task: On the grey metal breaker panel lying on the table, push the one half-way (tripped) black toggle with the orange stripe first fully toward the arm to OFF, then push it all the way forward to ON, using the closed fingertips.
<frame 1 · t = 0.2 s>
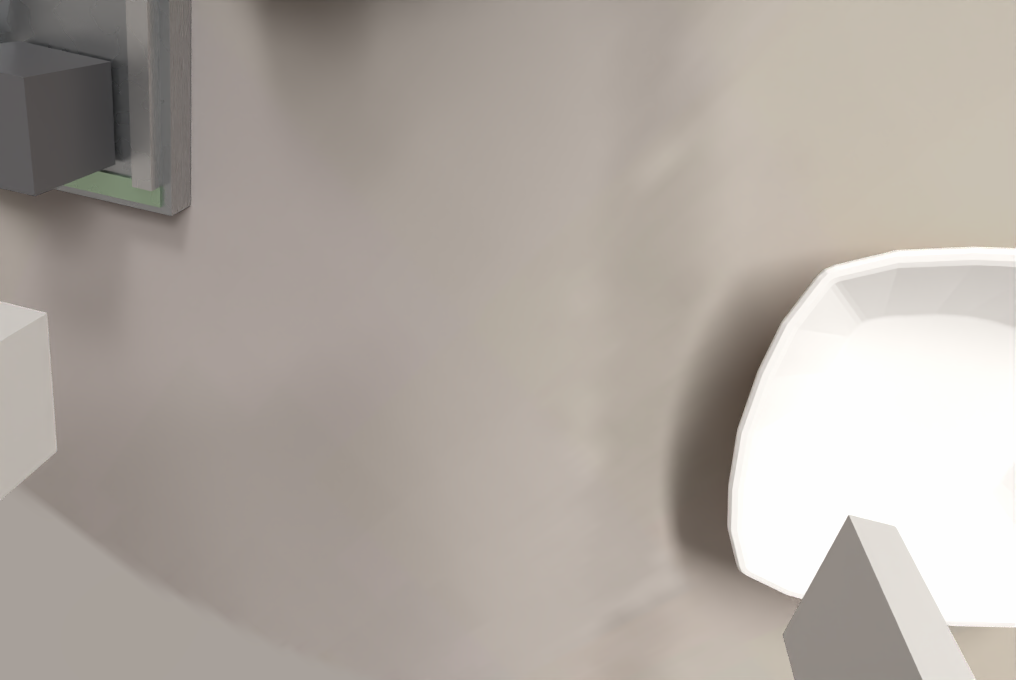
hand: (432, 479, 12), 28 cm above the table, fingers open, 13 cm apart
bowl: (921, 404, 41), on the table
breaker 3: (26, 115, 34), point 5 cm above the table, slide at 3.8 cm
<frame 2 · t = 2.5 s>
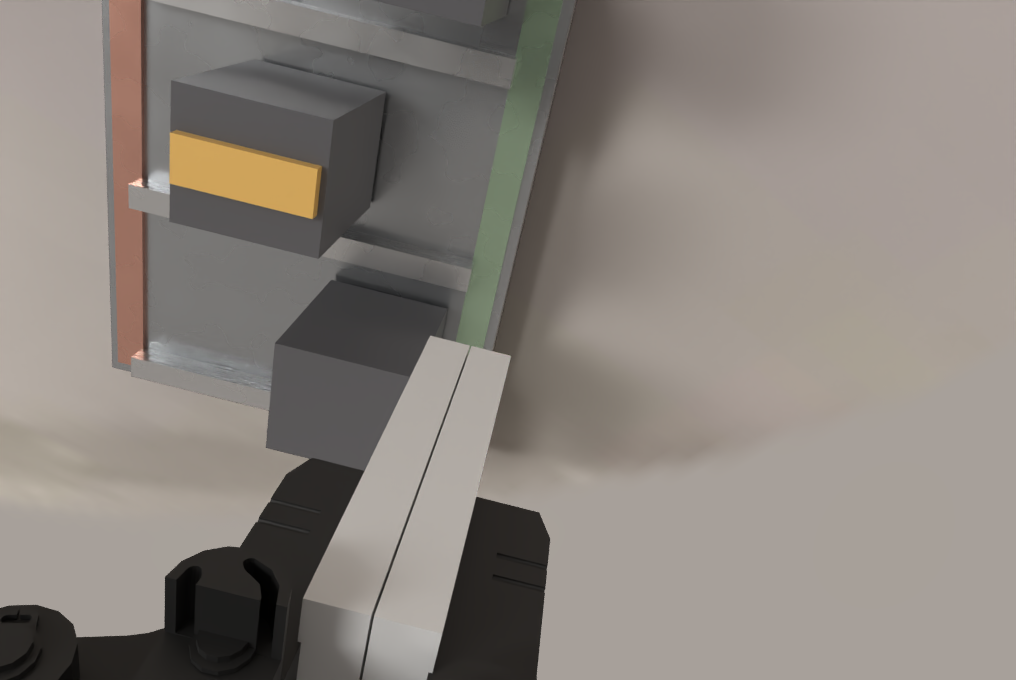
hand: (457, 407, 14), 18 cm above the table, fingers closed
panel: (333, 124, 31), on the table
breaker 2: (282, 153, 26), point 6 cm above the table, slide at 0.0 cm
breaker 1: (361, 374, 30), point 5 cm above the table, slide at 3.8 cm
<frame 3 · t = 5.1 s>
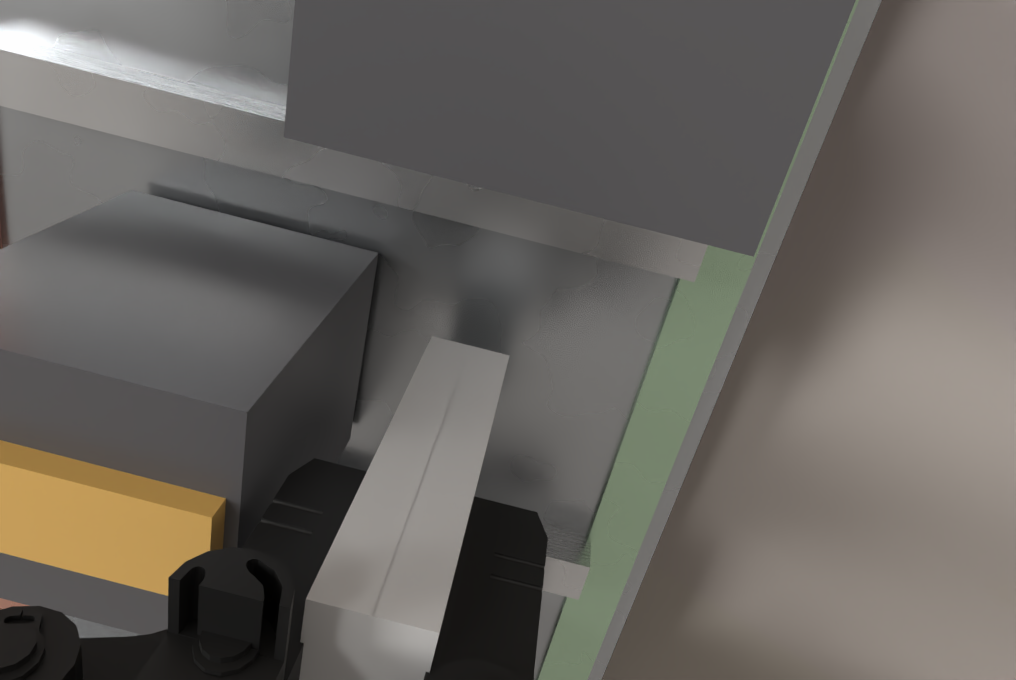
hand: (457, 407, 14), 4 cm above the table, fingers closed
panel: (345, 296, 18), on the table
breaker 2: (168, 399, 13), point 5 cm above the table, slide at -1.4 cm, touching gripper
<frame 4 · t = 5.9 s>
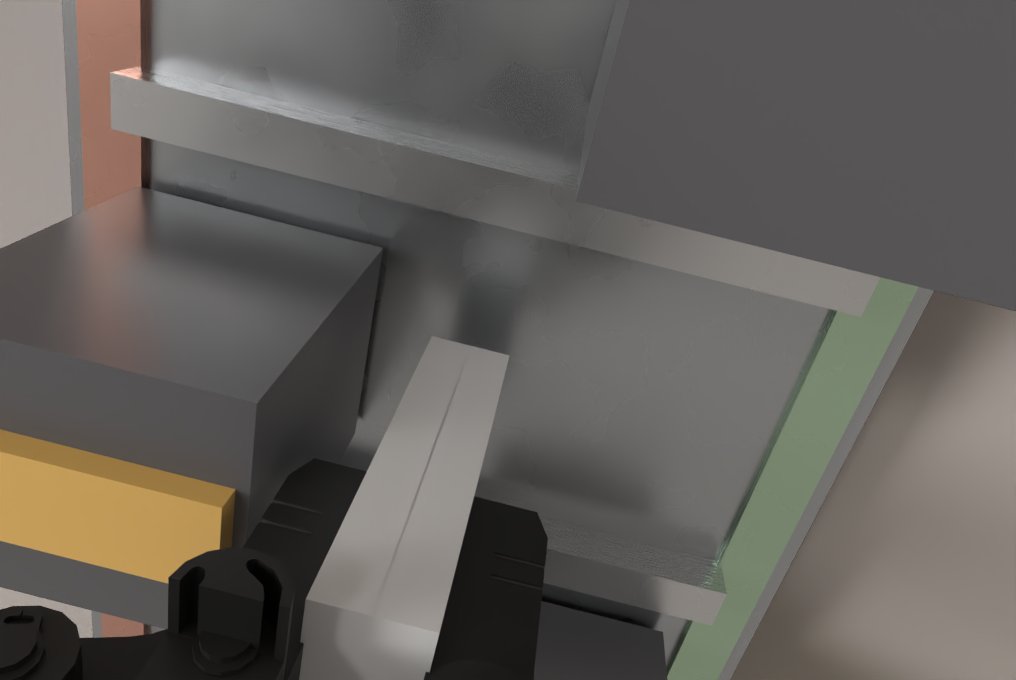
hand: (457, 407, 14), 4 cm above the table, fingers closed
panel: (473, 323, 18), on the table
breaker 2: (175, 393, 13), point 6 cm above the table, slide at -4.4 cm, touching gripper
breaker 3: (821, 15, 10), point 5 cm above the table, slide at 3.8 cm
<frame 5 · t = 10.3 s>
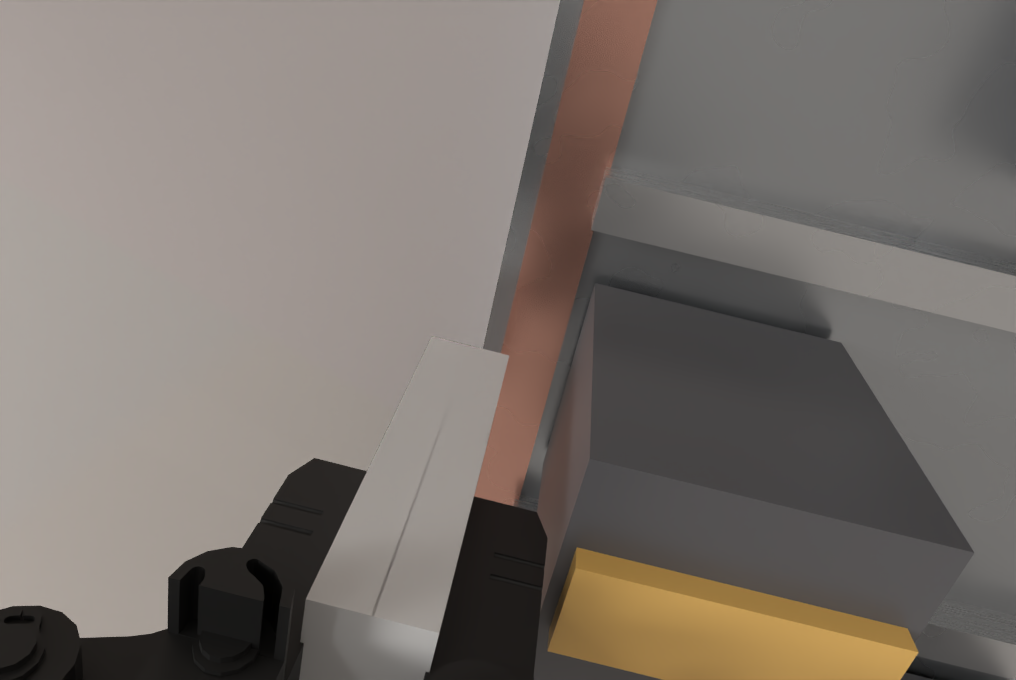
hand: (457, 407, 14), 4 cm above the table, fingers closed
panel: (841, 397, 18), on the table
breaker 2: (699, 502, 13), point 6 cm above the table, slide at -4.1 cm, touching gripper
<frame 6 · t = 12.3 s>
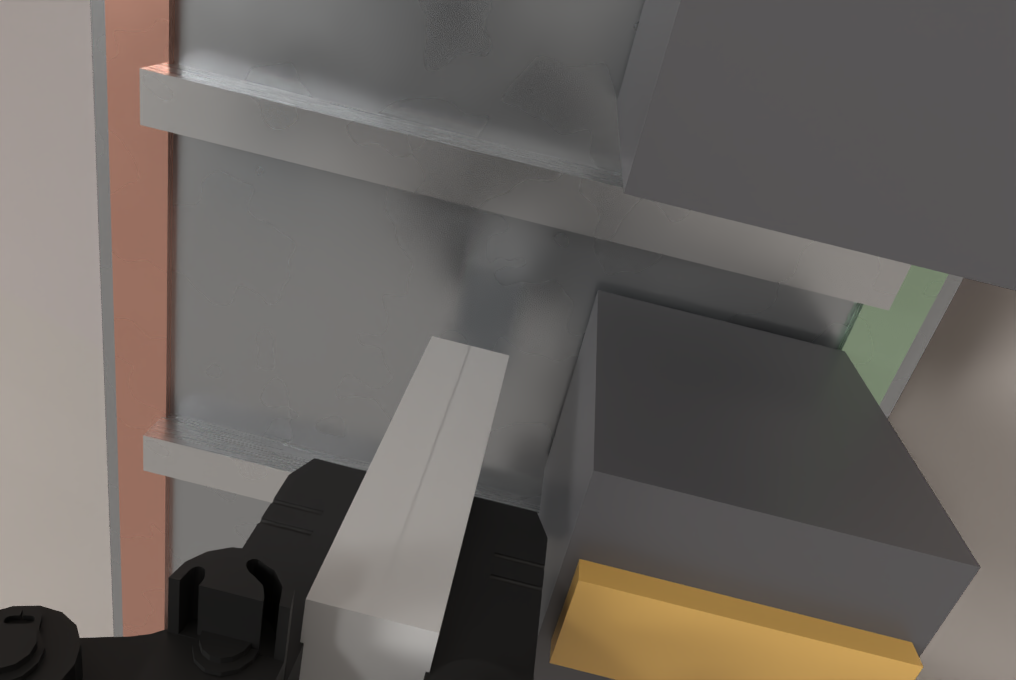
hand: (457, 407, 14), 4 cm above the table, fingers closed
panel: (495, 318, 18), on the table
breaker 2: (702, 512, 13), point 5 cm above the table, slide at 4.4 cm, touching gripper
breaker 3: (860, 8, 10), point 5 cm above the table, slide at 3.8 cm
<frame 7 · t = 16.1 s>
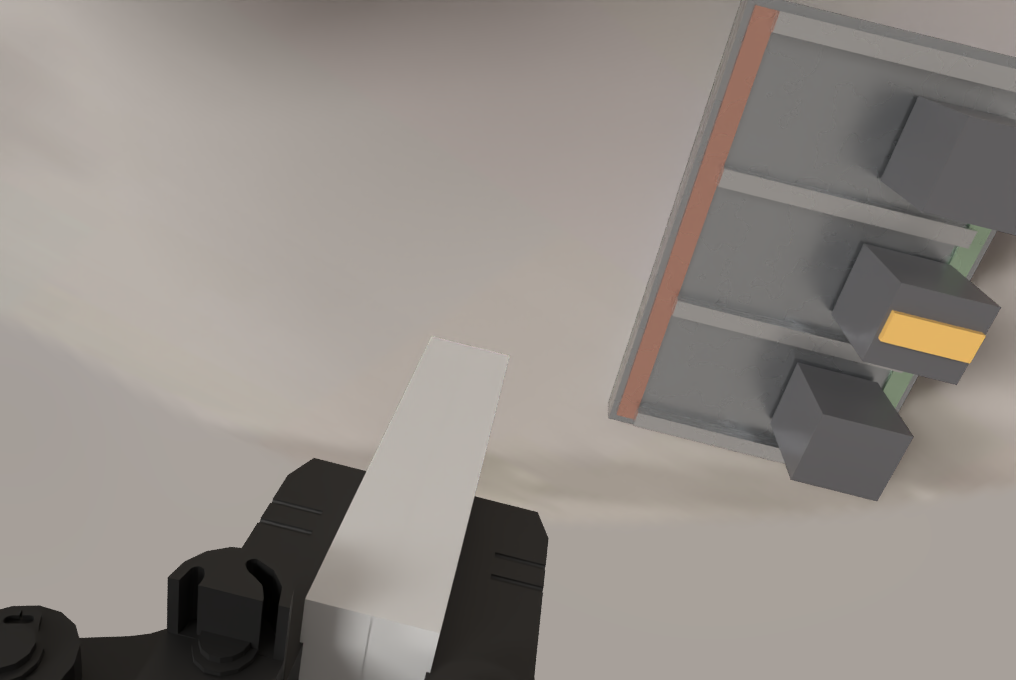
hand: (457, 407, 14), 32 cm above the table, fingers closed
panel: (804, 257, 45), on the table
breaker 2: (909, 312, 40), point 6 cm above the table, slide at 4.4 cm
breaker 3: (969, 163, 37), point 5 cm above the table, slide at 3.8 cm
breaker 1: (835, 429, 44), point 5 cm above the table, slide at 3.8 cm
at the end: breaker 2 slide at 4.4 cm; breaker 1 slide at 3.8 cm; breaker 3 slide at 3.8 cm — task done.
